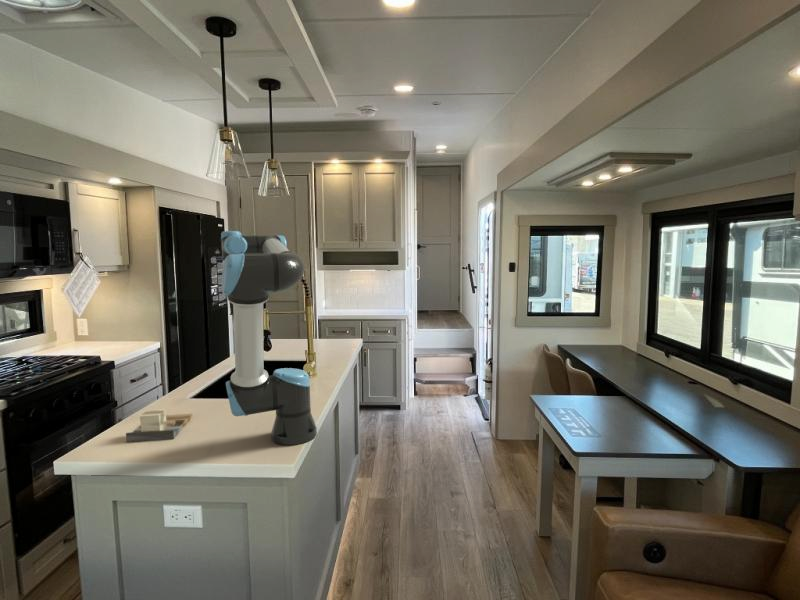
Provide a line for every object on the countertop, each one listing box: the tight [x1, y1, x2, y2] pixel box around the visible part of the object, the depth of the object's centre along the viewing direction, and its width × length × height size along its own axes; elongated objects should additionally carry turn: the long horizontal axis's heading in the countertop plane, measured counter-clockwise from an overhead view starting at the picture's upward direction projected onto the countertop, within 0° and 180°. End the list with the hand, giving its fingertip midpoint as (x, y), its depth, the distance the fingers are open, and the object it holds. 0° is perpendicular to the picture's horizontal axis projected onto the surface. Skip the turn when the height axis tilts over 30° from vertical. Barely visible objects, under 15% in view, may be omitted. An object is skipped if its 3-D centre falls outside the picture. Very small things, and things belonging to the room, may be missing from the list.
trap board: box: [125, 413, 194, 443], centre depth 161 cm, size 20×15×3 cm
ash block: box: [139, 408, 167, 432], centre depth 155 cm, size 6×6×7 cm
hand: (237, 330), depth 176 cm, fingers closed
